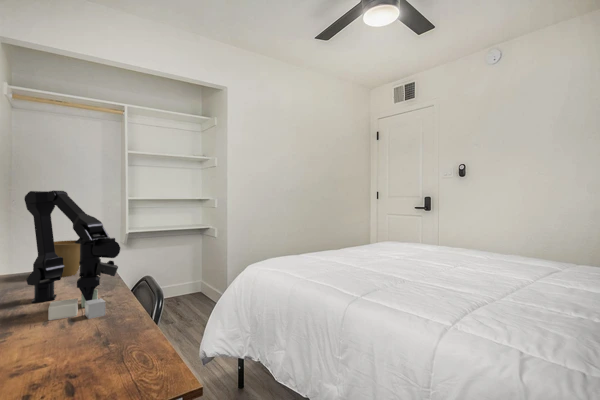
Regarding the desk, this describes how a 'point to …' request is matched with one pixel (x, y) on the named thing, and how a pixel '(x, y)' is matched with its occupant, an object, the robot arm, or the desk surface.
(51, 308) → the cream block
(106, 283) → the desk surface
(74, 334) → the desk surface
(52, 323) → the desk surface
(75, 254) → the plant pot
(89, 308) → the grey cube
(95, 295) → the sage cube
